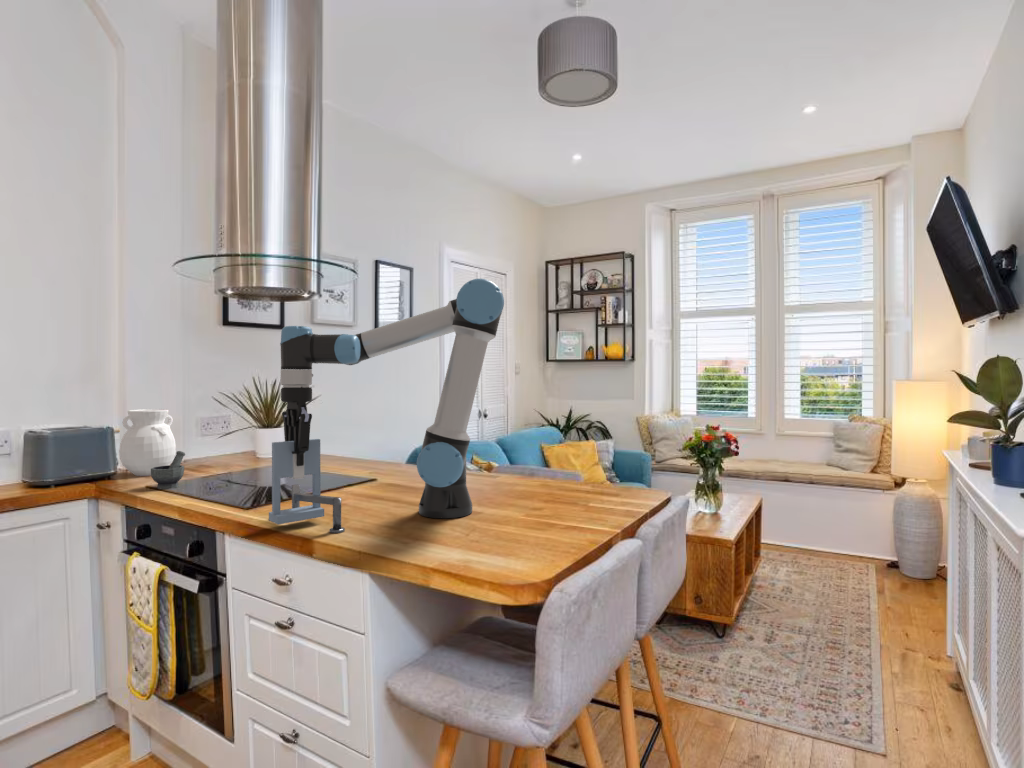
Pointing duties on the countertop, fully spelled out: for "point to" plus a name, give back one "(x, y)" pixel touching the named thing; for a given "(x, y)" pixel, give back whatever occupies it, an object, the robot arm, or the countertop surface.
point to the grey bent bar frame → (322, 500)
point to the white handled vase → (147, 441)
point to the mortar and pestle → (169, 473)
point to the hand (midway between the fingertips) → (296, 477)
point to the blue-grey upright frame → (284, 468)
